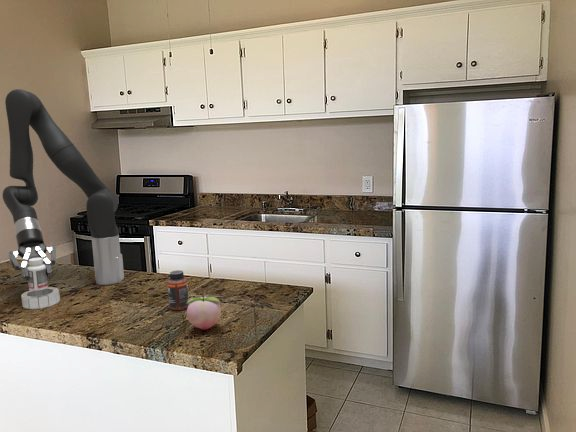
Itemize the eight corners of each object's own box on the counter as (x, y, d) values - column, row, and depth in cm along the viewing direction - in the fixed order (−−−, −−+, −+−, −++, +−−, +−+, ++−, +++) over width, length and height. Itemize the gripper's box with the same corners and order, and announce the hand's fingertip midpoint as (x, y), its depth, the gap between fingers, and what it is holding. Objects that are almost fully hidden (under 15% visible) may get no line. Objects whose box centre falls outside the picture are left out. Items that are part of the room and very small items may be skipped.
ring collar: (64, 296, 154) (63, 286, 154) (52, 307, 144) (50, 297, 144) (31, 298, 153) (30, 288, 153) (16, 309, 143) (15, 299, 142)
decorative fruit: (222, 322, 130) (221, 287, 128) (222, 334, 122) (220, 297, 120) (188, 324, 128) (186, 289, 127) (185, 336, 120) (183, 300, 119)
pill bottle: (49, 285, 151) (46, 256, 150) (46, 290, 146) (43, 260, 145) (30, 287, 150) (27, 257, 148) (27, 292, 145) (24, 261, 143)
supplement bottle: (192, 305, 144) (190, 270, 142) (182, 312, 138) (180, 275, 136) (176, 303, 145) (173, 268, 144) (165, 310, 140) (162, 274, 138)
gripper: (3, 230, 147) (12, 275, 139) (53, 225, 155) (64, 267, 147) (3, 243, 152) (12, 287, 144) (51, 237, 160) (62, 279, 153)
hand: (38, 277), depth 146 cm, fingers closed on pill bottle, 5 cm apart
